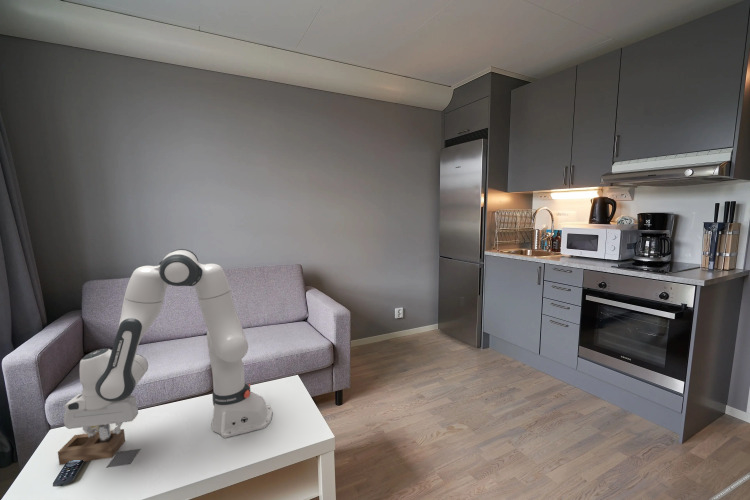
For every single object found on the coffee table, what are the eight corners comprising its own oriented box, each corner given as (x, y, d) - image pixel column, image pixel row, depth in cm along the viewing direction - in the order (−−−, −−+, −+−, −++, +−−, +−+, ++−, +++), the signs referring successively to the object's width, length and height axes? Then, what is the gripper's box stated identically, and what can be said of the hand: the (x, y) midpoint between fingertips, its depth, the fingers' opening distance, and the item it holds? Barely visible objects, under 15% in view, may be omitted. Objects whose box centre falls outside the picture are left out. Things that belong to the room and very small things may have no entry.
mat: (141, 449, 112) (140, 448, 112) (130, 465, 105) (130, 464, 105) (118, 452, 111) (118, 451, 111) (105, 468, 104) (105, 467, 104)
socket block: (125, 441, 116) (123, 429, 115) (112, 458, 108) (110, 444, 108) (76, 448, 113) (74, 435, 112) (59, 465, 105) (57, 451, 104)
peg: (114, 448, 113) (111, 421, 112) (109, 454, 110) (106, 427, 109) (104, 449, 112) (101, 422, 111) (99, 455, 110) (96, 428, 108)
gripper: (139, 388, 114) (143, 424, 116) (72, 395, 110) (76, 432, 112) (130, 398, 108) (134, 436, 110) (58, 406, 104) (63, 445, 105)
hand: (104, 434), depth 111 cm, fingers open, 6 cm apart
